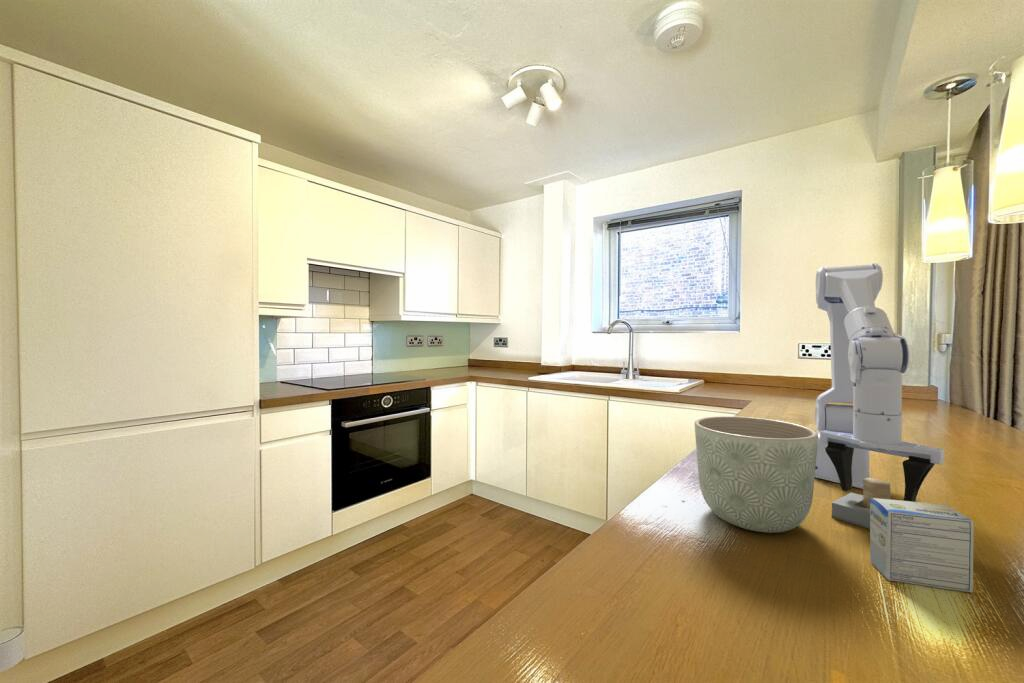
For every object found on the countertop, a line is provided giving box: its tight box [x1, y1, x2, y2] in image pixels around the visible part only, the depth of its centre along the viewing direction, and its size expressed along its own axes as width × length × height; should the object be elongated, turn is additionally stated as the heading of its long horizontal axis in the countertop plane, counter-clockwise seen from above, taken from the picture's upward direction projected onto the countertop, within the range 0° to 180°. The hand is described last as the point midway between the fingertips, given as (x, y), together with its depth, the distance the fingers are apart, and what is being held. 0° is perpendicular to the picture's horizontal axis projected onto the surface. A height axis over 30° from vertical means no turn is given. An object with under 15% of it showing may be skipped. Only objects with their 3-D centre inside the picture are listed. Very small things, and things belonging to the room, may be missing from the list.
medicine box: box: [869, 498, 975, 593], centre depth 49 cm, size 8×4×9 cm, turn 71°
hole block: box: [831, 492, 870, 530], centre depth 64 cm, size 9×8×2 cm
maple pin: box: [862, 477, 891, 509], centre depth 64 cm, size 3×3×6 cm
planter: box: [694, 415, 819, 534], centre depth 64 cm, size 17×17×15 cm
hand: (876, 497), depth 63 cm, fingers open, 7 cm apart
